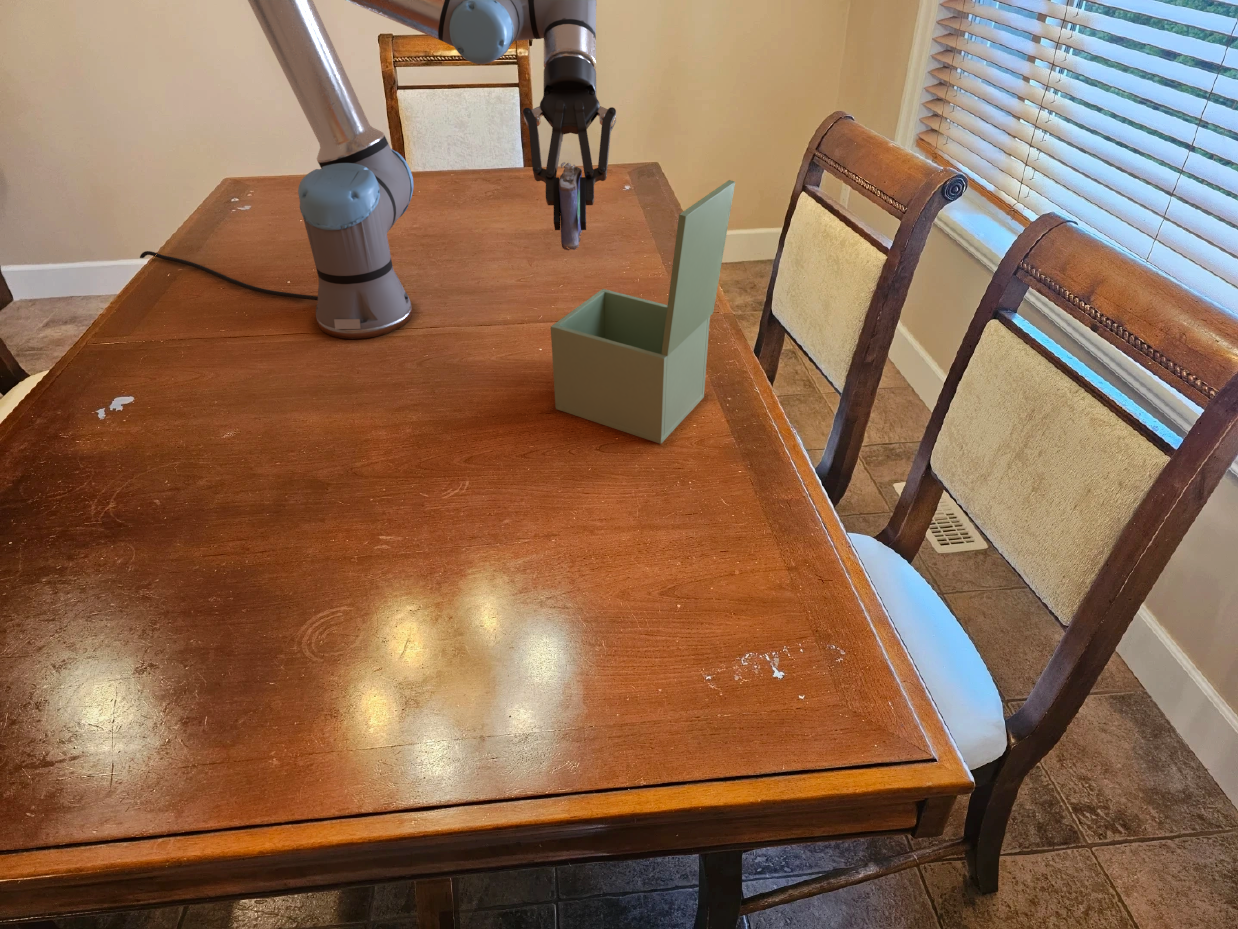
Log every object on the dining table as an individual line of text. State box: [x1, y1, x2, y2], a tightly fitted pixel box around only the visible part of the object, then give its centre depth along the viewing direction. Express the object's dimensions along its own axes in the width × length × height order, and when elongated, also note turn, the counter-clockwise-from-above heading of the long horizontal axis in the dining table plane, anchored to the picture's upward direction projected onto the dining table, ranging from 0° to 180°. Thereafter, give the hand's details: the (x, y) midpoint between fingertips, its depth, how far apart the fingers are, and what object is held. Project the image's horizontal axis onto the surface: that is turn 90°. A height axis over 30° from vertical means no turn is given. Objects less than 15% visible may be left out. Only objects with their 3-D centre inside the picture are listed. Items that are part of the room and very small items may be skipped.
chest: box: [550, 288, 711, 445], centre depth 108 cm, size 17×13×13 cm
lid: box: [662, 179, 736, 356], centre depth 95 cm, size 18×13×1 cm
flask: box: [559, 161, 584, 251], centre depth 113 cm, size 9×3×11 cm, turn 176°
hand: (570, 225), depth 111 cm, fingers closed on flask, 3 cm apart
